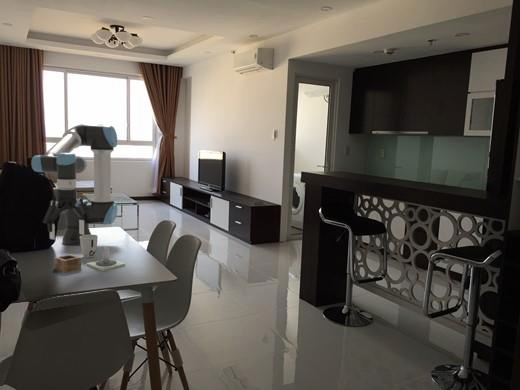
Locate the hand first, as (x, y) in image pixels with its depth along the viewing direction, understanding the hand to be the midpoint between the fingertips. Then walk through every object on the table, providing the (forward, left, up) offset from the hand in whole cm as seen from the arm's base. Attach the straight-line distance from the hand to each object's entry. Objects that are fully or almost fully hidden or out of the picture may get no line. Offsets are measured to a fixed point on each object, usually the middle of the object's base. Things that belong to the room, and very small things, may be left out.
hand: (67, 236), depth 188 cm
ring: (0, 0, -15) cm, 15 cm away
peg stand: (+8, +14, -15) cm, 22 cm away
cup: (-11, +17, -15) cm, 25 cm away
